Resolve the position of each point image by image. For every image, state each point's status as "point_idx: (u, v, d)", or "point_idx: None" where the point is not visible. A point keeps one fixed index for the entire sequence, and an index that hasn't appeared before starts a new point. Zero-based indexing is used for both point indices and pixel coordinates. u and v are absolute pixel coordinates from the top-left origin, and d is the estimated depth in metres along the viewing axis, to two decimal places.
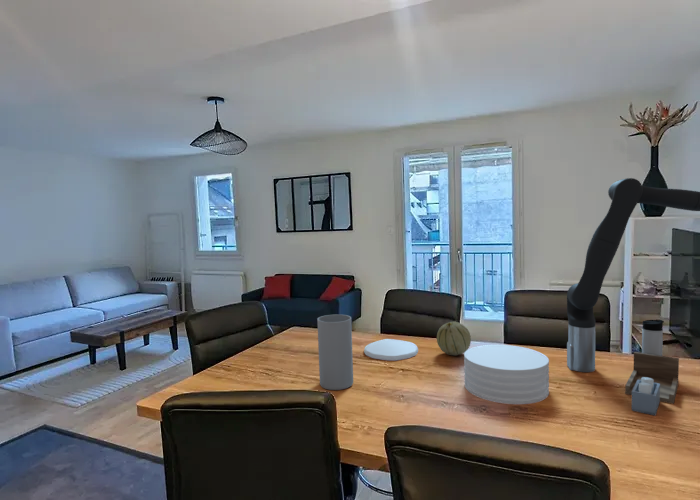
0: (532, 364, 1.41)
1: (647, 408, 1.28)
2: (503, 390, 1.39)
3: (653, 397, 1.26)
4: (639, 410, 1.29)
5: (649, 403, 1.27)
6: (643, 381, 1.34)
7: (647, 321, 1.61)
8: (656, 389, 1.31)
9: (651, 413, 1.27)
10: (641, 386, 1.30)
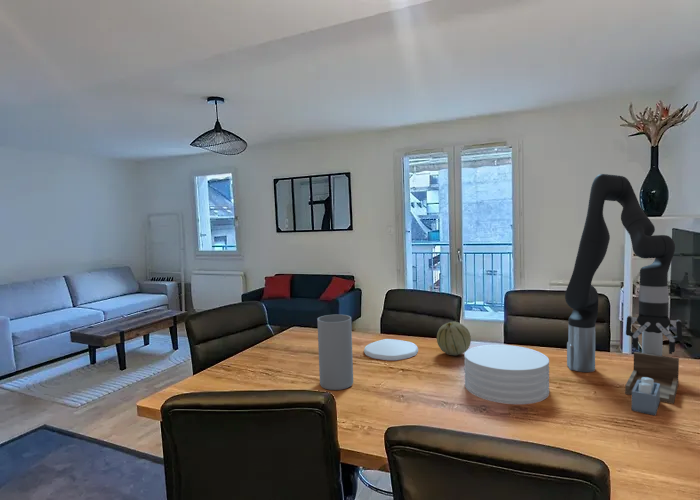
0: (532, 364, 1.41)
1: (647, 408, 1.28)
2: (503, 390, 1.39)
3: (653, 397, 1.26)
4: (639, 410, 1.29)
5: (649, 403, 1.27)
6: (643, 381, 1.34)
7: None
8: (656, 389, 1.31)
9: (651, 413, 1.27)
10: (641, 386, 1.30)
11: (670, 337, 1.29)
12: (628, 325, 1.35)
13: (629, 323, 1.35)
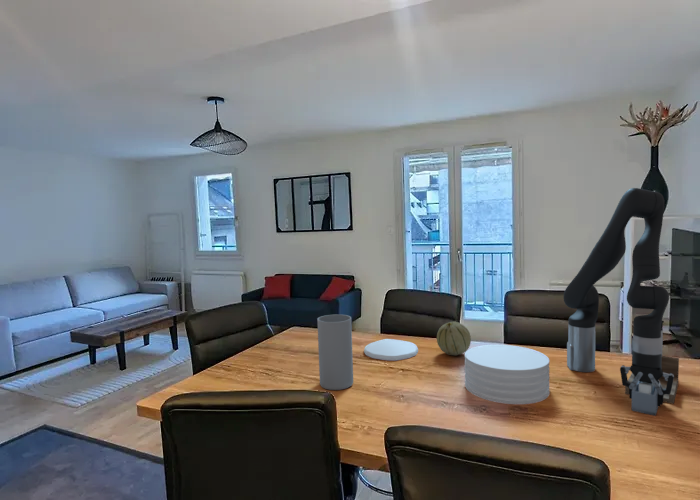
0: (533, 364, 1.41)
1: (647, 408, 1.28)
2: (504, 390, 1.39)
3: (653, 397, 1.26)
4: (639, 410, 1.29)
5: (649, 403, 1.27)
6: None
7: None
8: None
9: (651, 413, 1.27)
10: (641, 386, 1.30)
11: (659, 390, 1.29)
12: (623, 375, 1.35)
13: (623, 373, 1.35)
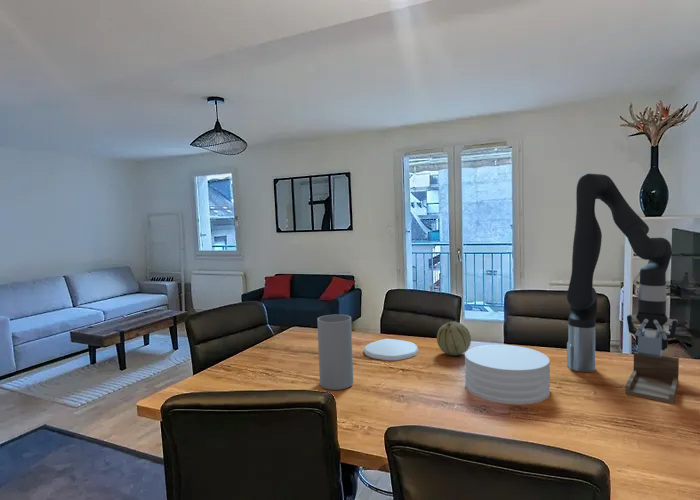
0: (533, 364, 1.41)
1: (652, 351, 1.37)
2: (504, 390, 1.39)
3: (658, 340, 1.35)
4: (645, 353, 1.38)
5: (654, 346, 1.36)
6: None
7: None
8: None
9: (656, 355, 1.36)
10: (647, 331, 1.39)
11: (663, 334, 1.38)
12: (629, 323, 1.44)
13: (630, 321, 1.44)
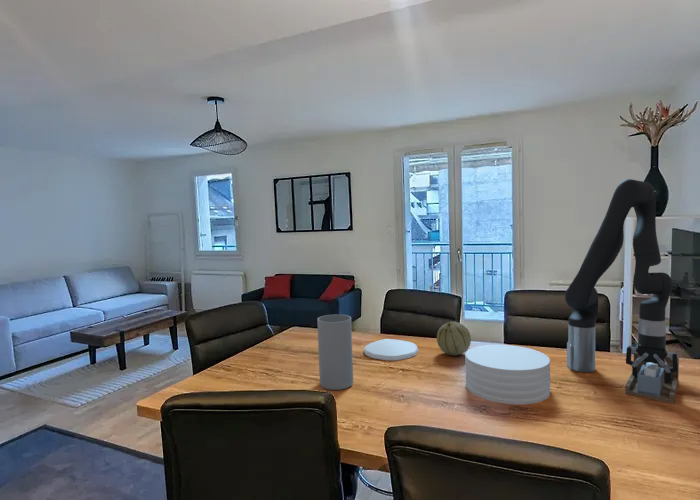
0: (533, 364, 1.41)
1: (652, 390, 1.37)
2: (504, 390, 1.39)
3: (657, 380, 1.36)
4: (644, 392, 1.39)
5: (654, 385, 1.37)
6: (648, 366, 1.44)
7: None
8: (660, 373, 1.41)
9: (656, 395, 1.37)
10: (646, 370, 1.40)
11: (666, 368, 1.38)
12: (628, 355, 1.45)
13: (629, 353, 1.45)
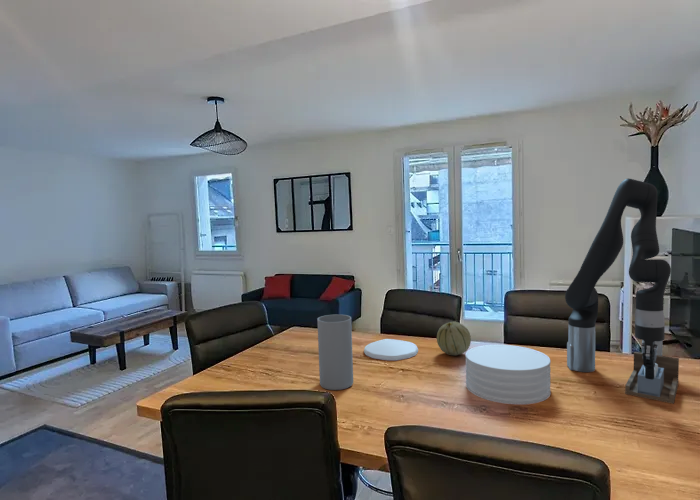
0: (534, 364, 1.41)
1: (652, 390, 1.37)
2: (505, 390, 1.39)
3: (657, 380, 1.36)
4: (644, 392, 1.39)
5: (654, 385, 1.37)
6: None
7: None
8: (660, 373, 1.41)
9: (656, 395, 1.37)
10: None
11: None
12: None
13: None
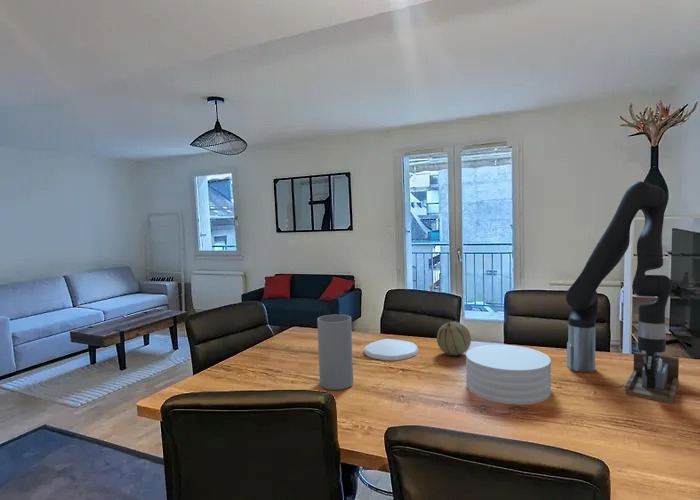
0: (534, 364, 1.41)
1: (656, 384, 1.42)
2: (505, 390, 1.39)
3: (661, 374, 1.41)
4: None
5: (658, 380, 1.42)
6: None
7: None
8: (664, 368, 1.45)
9: (660, 389, 1.41)
10: None
11: None
12: None
13: None
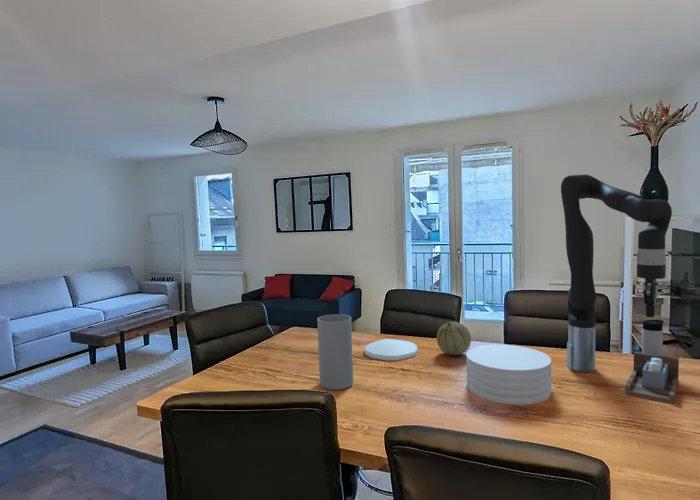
0: (535, 364, 1.41)
1: (656, 384, 1.42)
2: (506, 390, 1.38)
3: (662, 374, 1.41)
4: (649, 386, 1.43)
5: (658, 380, 1.42)
6: (653, 361, 1.48)
7: (647, 321, 1.61)
8: (664, 368, 1.45)
9: (660, 389, 1.41)
10: (651, 365, 1.44)
11: None
12: None
13: None
